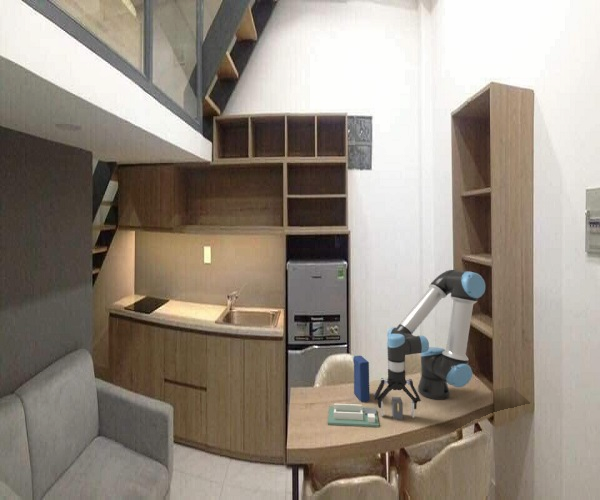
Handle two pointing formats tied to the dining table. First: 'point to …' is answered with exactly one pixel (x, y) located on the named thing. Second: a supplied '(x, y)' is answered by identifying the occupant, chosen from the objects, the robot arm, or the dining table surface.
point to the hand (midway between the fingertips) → (397, 415)
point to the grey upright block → (397, 408)
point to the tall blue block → (361, 378)
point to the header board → (352, 415)
